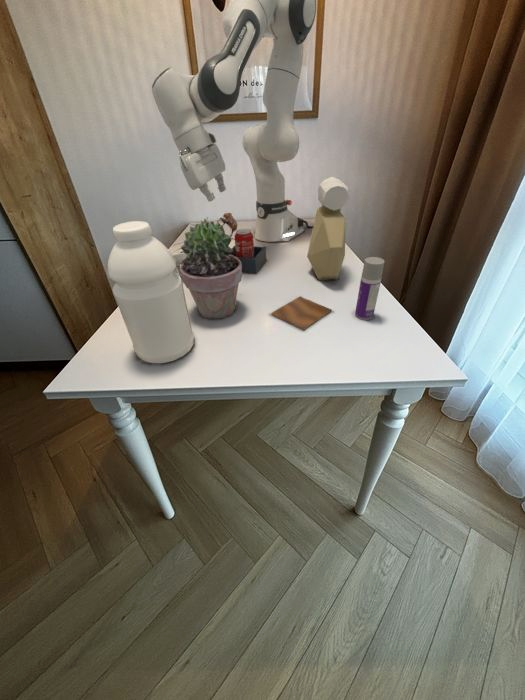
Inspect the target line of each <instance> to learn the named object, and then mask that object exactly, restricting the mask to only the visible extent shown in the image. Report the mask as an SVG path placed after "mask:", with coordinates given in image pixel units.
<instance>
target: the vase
mask: <svg viewBox="0 0 525 700" xmlns="http://www.w3.org/2000/svg"><path fill="white" fill-rule="evenodd" d="M317 197H318V198H317V199H318V201H319V203H320V204H321V206H318V207H317V208H316V213H315V217H314V222H313V225H312V226H313V228H312V230H311V237H310V240H309V246H308V251H307V255H306V257H307V259H308V261H309V263H310V265H311V267H312V270H313V271H314V273H315V275H316V278H317V279H318V280H320V281H327V280H329V281H330V280H331V281H332V280H337V279H338V278H339V276H340V272H341V269H342V266H343V263H344V260H345V256H346V221H347V218H346V217H345V216H344V215H343V214H342V212H341V210H342V209H343V207H345V206H346V205H347V203H348V201H349V198H350V197H349V187H348V186H347V185H346V184H345V183H344V182H343V181H342V180H341V179H338V178H336V177H334V176H330V177H328V178H326V179H324V180H323V181H321V183H320V184H319V185H318V188H317Z"/></svg>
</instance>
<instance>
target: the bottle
mask: <svg viewBox="0 0 525 700" xmlns="http://www.w3.org/2000/svg"><path fill="white" fill-rule="evenodd" d="M152 233H153V231H152V227H151V225H150V224H149V223H148V222H147V221H143V220H131V221H126V222H121V223H119V224H116V225H114V226H113V227H112V235H113V238H114V239H115V240H117V241H116V242H115V243H114V245H113V247H112V249H111V251H110V254H109V255H108V259H107V269H106V270H107V271H106V273H107V275H108V277H109V280H111V281H113V282H115V283H114V285H113V287H112V290H111V291H112V295H113V296H114V299H115V301H116V304H117V307H118V309H119V312H120V314H121V317H122V320H123V322H124V325H125V327H126V330H127V333H128V335H129V338H130V340H131V344H132V348H133V351H134V353H135V354H136V356H137V358H139V359H140V360H141V361H143V362H146V363H150V364H165V363H170V362H174V361H176V360H178V359H181V358H182V357H184V356H185V355H186V354H187V353H189V352H190V351H191V349H192V347H193V346H194V344H195V343H194V342H195V341H194V339H195V337H194V331H193V327H192V323H191V319H190V314H189V313H190V312H189V309H188V304H187V300H186V295H185V289H184V283H183V279H182V276H179V273H176V272H174V270H175V268H176V260H175V259H174V257H173V255H172V254H171V253H172V252H171V251H170V250H169V249H168V247H166V246H165V244H164V243H162V242H161V241H160V240H159V239H157V238H156V237H154V236H153V235H152Z"/></svg>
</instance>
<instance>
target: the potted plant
mask: <svg viewBox="0 0 525 700" xmlns="http://www.w3.org/2000/svg"><path fill="white" fill-rule="evenodd" d="M208 219H209V217H206V218H204V219H203V221H202V220H200V223H195V224H194V226H192V224H190V226H189V231H187V232H184V236H185V239H184V241H183V242H180V243H178V245H180V244H182V243H183V244H182V245H181V246H180V248H177V249H176V250H174V251H173V253H174V252H178V251H180V250H181V251H182V252H180V253H183V252H184V253H186V254H187V256H186V258H185V259H184V260H182V259H181V260H182V261H183V262H182V263H183V264H182V263H181V264H182V265H181V264H179V265H180V272H181V276H180V277H181V279H182V283H183V285H184V286H185V287H186V288H187V289H188V291H189V293H190V294H191V296H192V299H193V301H194V303H195V305H196V308H197V309H198V311H199V313H200V315H201V316H202V317H203V318H206V319H210V320H218V319H224V318H226V317H229V316H231V315H232V314H233V313H234V312H235V310H236V309H235V308H236V304H237V297H238V290H239V285H240V282H241V281H242V273H243V272H242V263H241V261H240V260H239V259H238V258H237V257H235V256H233V255H229V254H231V253H235V252H233V251H235V250H232V248H233V247H234V246H235V245H233V246H232V248H231V247H230V244H231V242H232V241H234V242H235V238H234V237H233V234H234V232H236V231H237V230H238V223H237V220H236V219H235V218H234V216H233V213H232V212H225V213H223V215H222V217H220V218H218V219H217V220H216V223H214V221H210V222H209V221H208ZM220 222H222V223H223V224H221V223H220ZM225 224H226V225H227V226H228V227H229V229H230V231H229V232H231V233H230V234H227V233H226V232H225V229H224V226H225ZM239 242H240V241H239ZM176 245H177V243H175V244H173V245H171V247H172V246H176ZM179 265H178V266H179ZM178 266H177V267H178ZM177 267H176V268H177ZM244 271H245V270H244Z"/></svg>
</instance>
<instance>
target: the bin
mask: <svg viewBox="0 0 525 700" xmlns="http://www.w3.org/2000/svg"><path fill="white" fill-rule="evenodd" d="M233 246H234V247H233ZM233 246H232V250H235V251H233V252H235V253H231V254H229V255H233V256H235V257H236V248H235V245H233ZM237 258H238V259H239V260H240V261H241V263H242V273H244V274H245V273H246V274H252V275H257V274H258V272H259V271H260V269H261V268H262V267H263V266H264V264H265V263H266V262H267V246H259V245H258V246H256V245H254V259H253V258H242V257H237ZM244 270H245V271H244Z"/></svg>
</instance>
